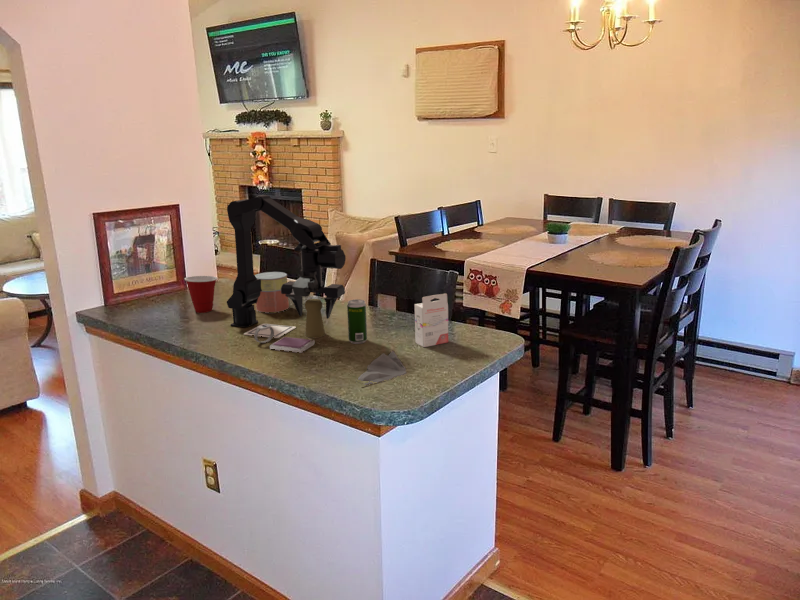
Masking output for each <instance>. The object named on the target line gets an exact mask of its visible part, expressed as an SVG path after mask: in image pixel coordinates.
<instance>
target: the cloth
mask: <svg viewBox="0 0 800 600" xmlns="http://www.w3.org/2000/svg"><path fill="white" fill-rule="evenodd" d="M366 369H367V370H365V372H363V373H361V374H360V375H359V376H358V377H357V378H358V380H361V381H369V382H368V383H365V384H364V383H363V384H364V385H369V384H373V383H372V382H370V381H373V382H377V384H379V383H378V382H381V383H383V382H382V381H384V380H387V381H390V380H389V379H391V380H393V379H392V378H394V377H395V378H398V377H397V376H399V377H402V376H405V375H406V374H408V371H407V369H406V367H405V366H404V364H403V362H402V361H401V359H400V358H398V355H397V354H396V353H395V351H394V350H392V351H390V353H388V355H387V354H385V353H381V354H380V355H379V356H378V357H376V358H375V359H373V360H372V361H371V362H370V363H369V364H367V368H366ZM401 375H402V376H401ZM395 378H394V379H395ZM384 382H385V381H384Z"/></svg>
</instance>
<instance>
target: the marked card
mask: <svg viewBox="0 0 800 600" xmlns="http://www.w3.org/2000/svg"><path fill="white" fill-rule="evenodd" d="M265 324H266V325H269V326H271V327H272V329H273V330H274V336H273V337H274V338H273V339H280V338H282V337H284V334H285V335H286V334H288V333H290V332H291V331H293V330H295V329H297V326H293V325H282V324H280V325H279V324H271V323H261V324H259V325H258V326H262V325H265ZM256 329H257V328H256V327H253V328H252V329H250V330H248V331H246V332H244V333H243V335H244V336H252V335H254V334H255V331H256ZM270 334H271V330H270V328H269V329H265V330H260V331H259V332H258V336H257V337H261V336H262V337H263V338H269V337H270Z"/></svg>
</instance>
